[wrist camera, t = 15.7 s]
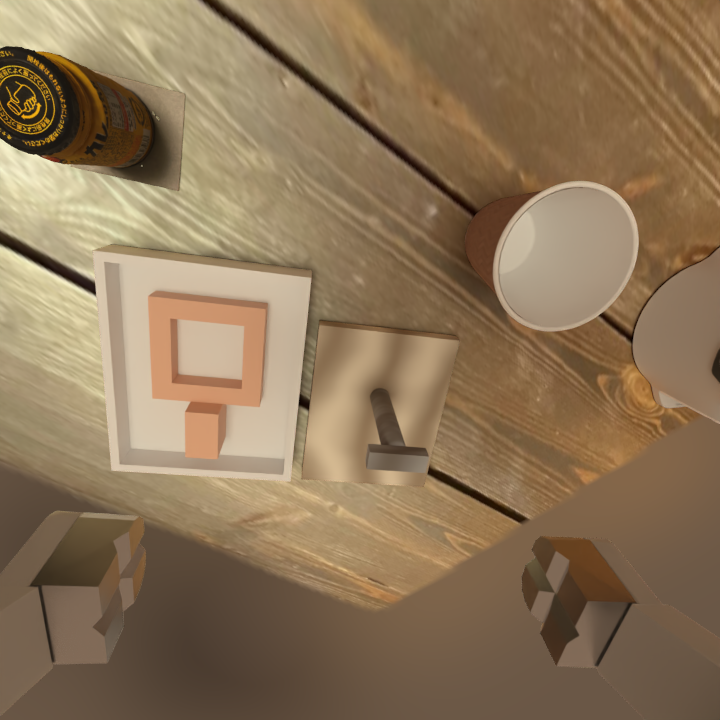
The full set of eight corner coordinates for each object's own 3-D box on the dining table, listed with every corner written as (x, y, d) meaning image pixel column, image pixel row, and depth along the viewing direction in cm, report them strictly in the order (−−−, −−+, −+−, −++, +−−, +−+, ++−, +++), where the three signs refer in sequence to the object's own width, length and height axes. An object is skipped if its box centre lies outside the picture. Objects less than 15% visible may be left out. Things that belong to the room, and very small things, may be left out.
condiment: (69, 64, 33) (-57, 6, 22) (185, 94, 34) (122, 54, 23) (72, 166, 35) (-40, 161, 24) (179, 190, 37) (120, 196, 26)
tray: (312, 269, 40) (311, 278, 37) (292, 461, 48) (290, 481, 45) (111, 244, 38) (92, 250, 35) (126, 450, 46) (111, 470, 43)
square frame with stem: (268, 303, 40) (263, 315, 37) (259, 439, 46) (254, 461, 42) (155, 290, 39) (139, 302, 35) (161, 431, 45) (146, 454, 41)
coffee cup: (565, 262, 42) (652, 292, 31) (468, 309, 43) (519, 355, 32) (535, 158, 38) (622, 150, 27) (429, 213, 39) (472, 227, 28)
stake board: (455, 335, 44) (504, 392, 32) (420, 478, 51) (451, 567, 39) (319, 320, 42) (319, 374, 31) (302, 470, 49) (296, 562, 37)
